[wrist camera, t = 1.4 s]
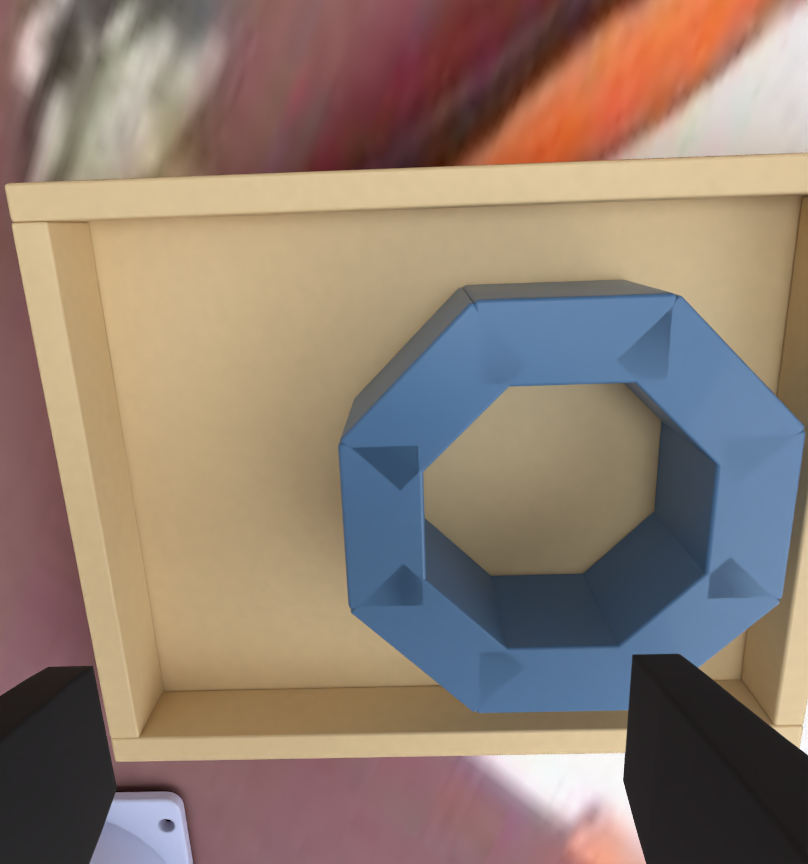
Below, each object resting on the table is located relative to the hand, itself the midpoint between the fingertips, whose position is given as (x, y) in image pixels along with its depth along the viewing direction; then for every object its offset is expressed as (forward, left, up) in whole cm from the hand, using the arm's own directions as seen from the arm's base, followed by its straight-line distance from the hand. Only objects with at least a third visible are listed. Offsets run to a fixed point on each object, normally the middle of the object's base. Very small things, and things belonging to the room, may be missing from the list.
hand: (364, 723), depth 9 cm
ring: (0, -4, -10) cm, 10 cm away
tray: (0, -1, -10) cm, 10 cm away
